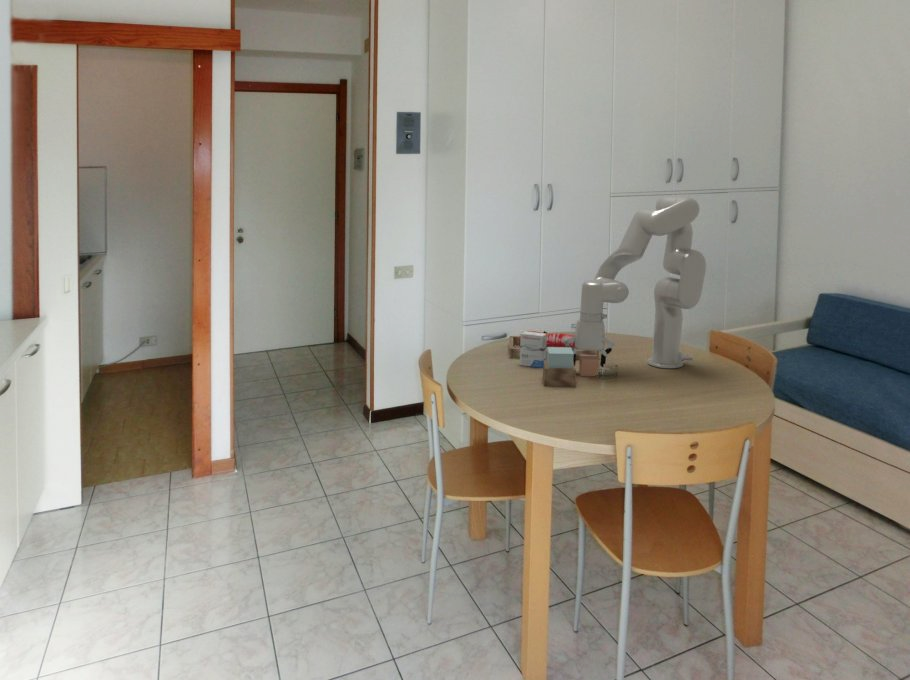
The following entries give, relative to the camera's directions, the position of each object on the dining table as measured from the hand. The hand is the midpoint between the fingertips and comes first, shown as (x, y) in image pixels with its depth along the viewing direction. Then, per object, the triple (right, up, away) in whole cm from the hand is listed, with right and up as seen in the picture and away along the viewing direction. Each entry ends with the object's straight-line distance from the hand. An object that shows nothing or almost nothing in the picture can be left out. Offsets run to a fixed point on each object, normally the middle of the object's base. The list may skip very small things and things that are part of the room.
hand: (587, 365), depth 246 cm
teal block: (-11, +1, -9) cm, 15 cm away
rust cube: (0, -3, +1) cm, 3 cm away
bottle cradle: (-9, +4, +28) cm, 29 cm away
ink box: (-18, 0, +11) cm, 21 cm away
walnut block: (-11, -5, -8) cm, 15 cm away
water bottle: (-8, +4, +29) cm, 31 cm away
